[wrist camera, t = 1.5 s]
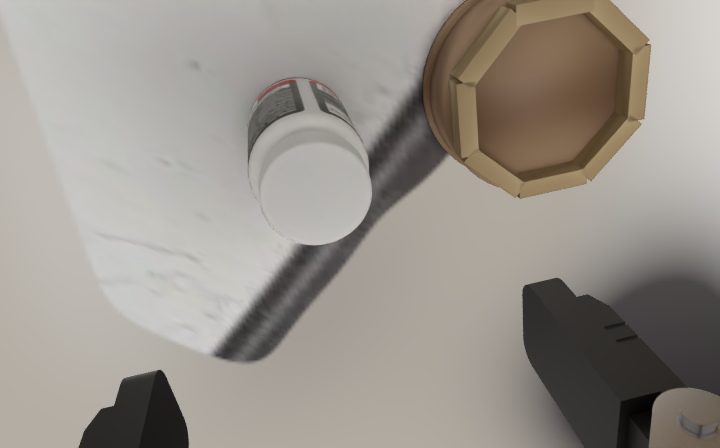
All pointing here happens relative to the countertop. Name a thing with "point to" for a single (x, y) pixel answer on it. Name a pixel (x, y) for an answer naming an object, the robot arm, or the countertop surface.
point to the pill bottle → (307, 163)
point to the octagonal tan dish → (536, 90)
